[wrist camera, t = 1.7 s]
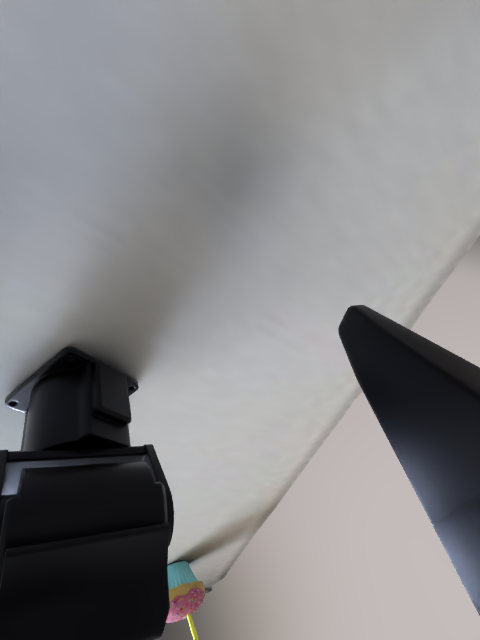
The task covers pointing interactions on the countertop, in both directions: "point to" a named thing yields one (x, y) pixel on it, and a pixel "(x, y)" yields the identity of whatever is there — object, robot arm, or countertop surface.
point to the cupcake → (183, 594)
